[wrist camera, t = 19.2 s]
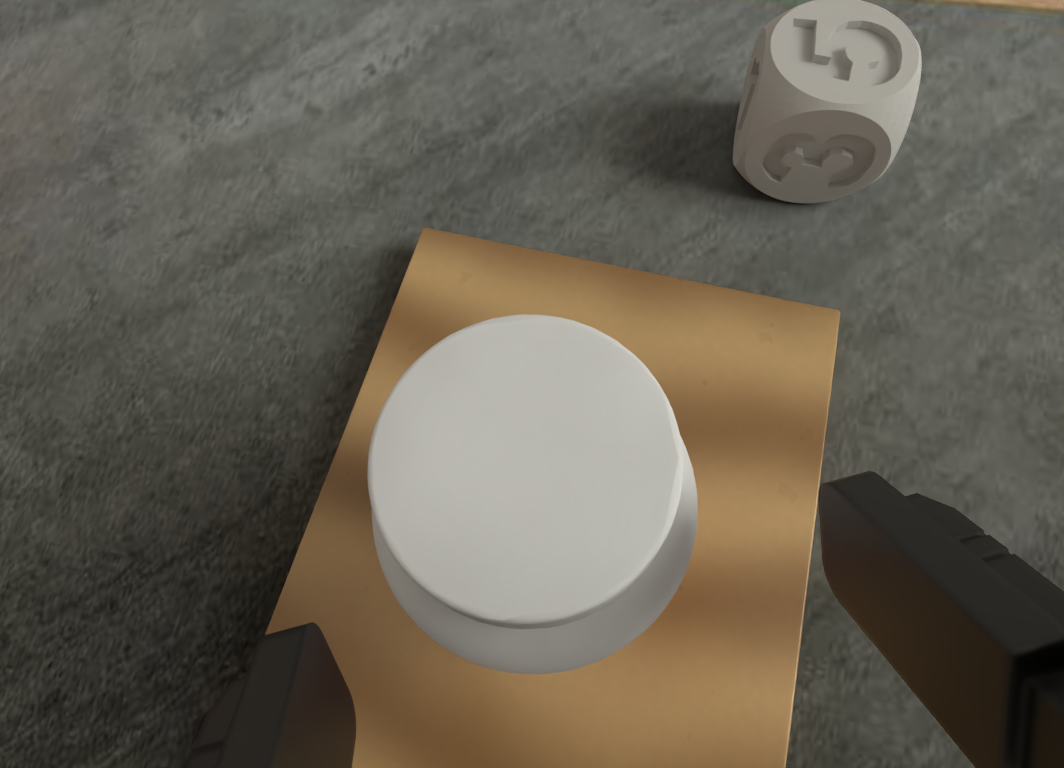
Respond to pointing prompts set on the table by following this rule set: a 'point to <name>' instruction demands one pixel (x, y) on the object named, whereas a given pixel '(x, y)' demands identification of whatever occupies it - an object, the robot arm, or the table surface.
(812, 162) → the die
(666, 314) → the board
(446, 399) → the pill bottle
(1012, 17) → the table surface
